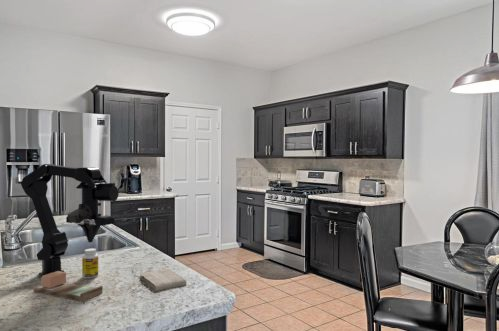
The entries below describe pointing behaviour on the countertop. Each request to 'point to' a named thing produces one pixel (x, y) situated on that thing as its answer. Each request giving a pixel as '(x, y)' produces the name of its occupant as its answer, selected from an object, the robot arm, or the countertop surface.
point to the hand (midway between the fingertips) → (90, 242)
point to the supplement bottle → (90, 264)
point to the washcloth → (162, 279)
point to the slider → (53, 279)
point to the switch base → (71, 291)
